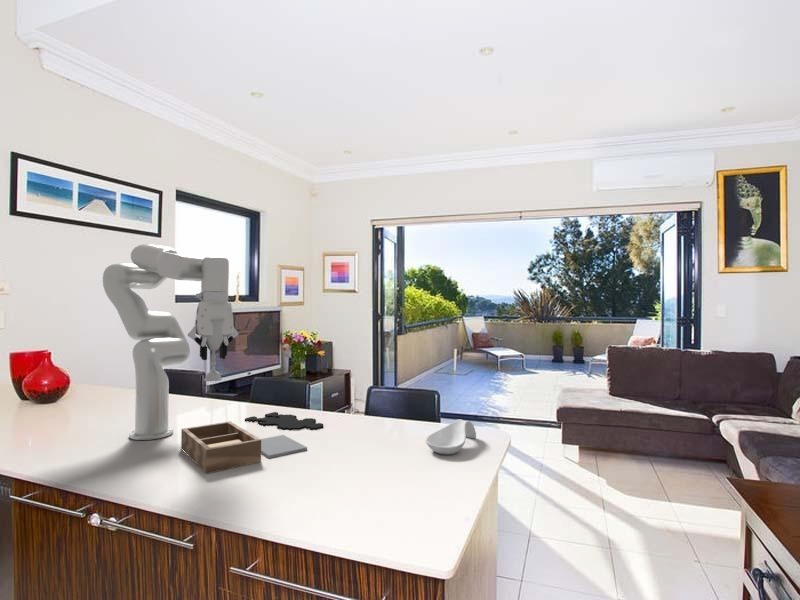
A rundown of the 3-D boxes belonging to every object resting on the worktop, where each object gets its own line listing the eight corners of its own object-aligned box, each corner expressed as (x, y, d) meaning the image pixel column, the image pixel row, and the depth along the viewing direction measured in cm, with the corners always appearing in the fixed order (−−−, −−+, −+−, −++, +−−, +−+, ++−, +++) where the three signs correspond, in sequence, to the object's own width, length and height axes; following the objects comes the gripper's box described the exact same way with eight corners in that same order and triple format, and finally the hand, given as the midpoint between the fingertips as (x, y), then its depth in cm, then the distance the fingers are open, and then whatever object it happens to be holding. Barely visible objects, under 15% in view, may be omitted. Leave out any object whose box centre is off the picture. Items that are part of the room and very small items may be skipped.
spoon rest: (454, 461, 129) (454, 436, 129) (418, 453, 135) (418, 429, 135) (485, 440, 149) (486, 418, 149) (453, 434, 155) (453, 413, 155)
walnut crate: (181, 449, 136) (181, 428, 136) (230, 440, 145) (230, 421, 145) (206, 473, 117) (207, 450, 117) (260, 461, 126) (261, 439, 126)
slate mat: (247, 444, 141) (247, 441, 141) (283, 437, 149) (283, 434, 149) (268, 458, 129) (268, 455, 129) (307, 449, 136) (307, 447, 136)
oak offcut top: (206, 452, 127) (206, 445, 127) (238, 446, 133) (238, 439, 133) (215, 460, 121) (215, 452, 121) (248, 453, 127) (248, 446, 127)
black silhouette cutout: (243, 421, 169) (299, 435, 152) (243, 418, 169) (299, 433, 152) (277, 413, 182) (332, 425, 165) (277, 410, 182) (332, 422, 165)
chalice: (230, 379, 137) (231, 319, 137) (210, 382, 131) (211, 320, 131) (215, 377, 141) (216, 318, 141) (195, 380, 135) (196, 319, 135)
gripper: (187, 297, 128) (186, 362, 128) (247, 298, 139) (246, 358, 139) (180, 297, 134) (179, 359, 134) (238, 298, 144) (237, 355, 144)
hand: (213, 358), depth 136 cm, fingers closed on chalice, 4 cm apart
